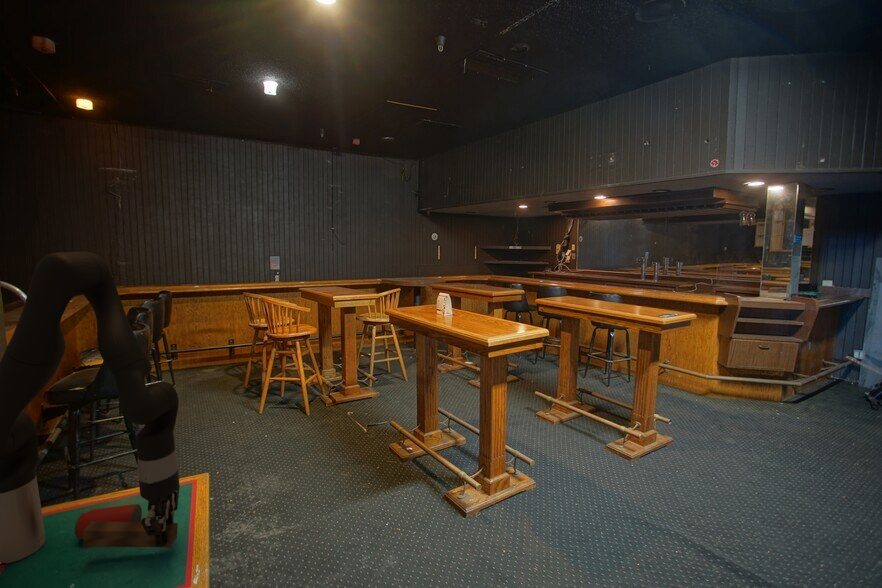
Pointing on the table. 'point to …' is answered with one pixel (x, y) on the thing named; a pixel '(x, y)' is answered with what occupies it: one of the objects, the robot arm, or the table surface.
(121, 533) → the walnut plank
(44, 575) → the table surface
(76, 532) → the beer can
